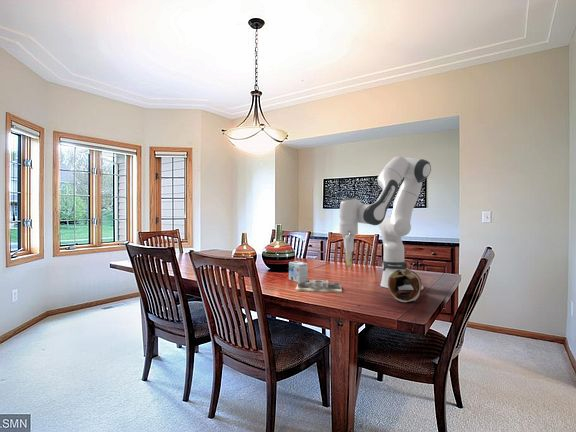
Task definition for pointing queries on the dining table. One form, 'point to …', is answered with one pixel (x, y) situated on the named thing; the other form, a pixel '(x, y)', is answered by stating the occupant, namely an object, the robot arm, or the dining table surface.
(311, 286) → the chain ends board
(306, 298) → the dining table surface
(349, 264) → the brass pin
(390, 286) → the clay pot
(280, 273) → the dining table surface
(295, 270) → the light bulb box
